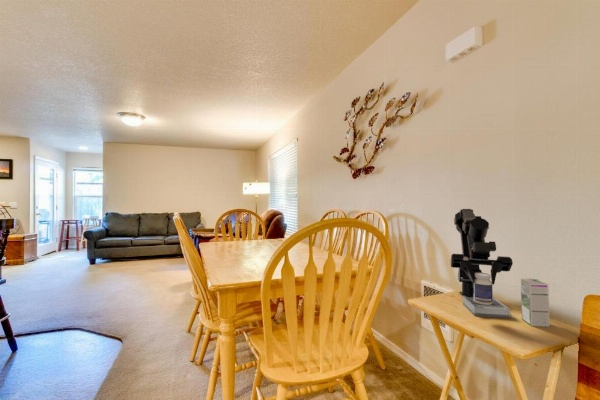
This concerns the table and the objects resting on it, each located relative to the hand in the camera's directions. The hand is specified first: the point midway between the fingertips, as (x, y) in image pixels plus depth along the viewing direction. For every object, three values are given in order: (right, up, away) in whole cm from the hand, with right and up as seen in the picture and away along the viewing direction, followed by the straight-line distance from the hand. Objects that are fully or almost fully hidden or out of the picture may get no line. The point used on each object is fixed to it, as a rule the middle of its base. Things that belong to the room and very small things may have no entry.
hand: (483, 283), depth 98 cm
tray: (+7, -13, +10) cm, 18 cm away
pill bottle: (+1, -7, +1) cm, 7 cm away
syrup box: (+17, -13, -1) cm, 22 cm away
